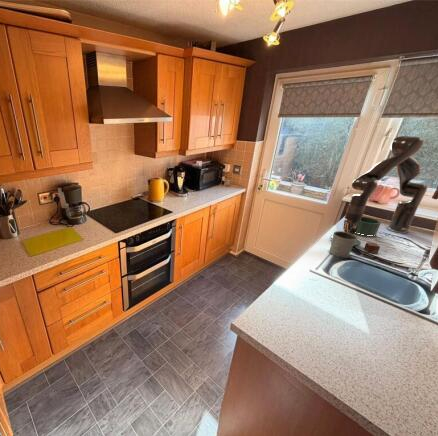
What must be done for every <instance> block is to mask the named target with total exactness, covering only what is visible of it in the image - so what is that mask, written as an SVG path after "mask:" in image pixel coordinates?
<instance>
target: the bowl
mask: <svg viewBox="0 0 438 436" xmlns="http://www.w3.org/2000/svg"><path fill="white" fill-rule="evenodd" d="M345 232H347V230H346V231H345ZM330 239H331V240H332V239H333V234H331V235H330ZM361 243H362V241H361V240H359V239H358V238H357V240H356V242H355V244H354V245H353V247H354V246H360V245H361Z"/></svg>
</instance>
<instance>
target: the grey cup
mask: <svg viewBox="0 0 438 436" xmlns="http://www.w3.org/2000/svg"><path fill="white" fill-rule="evenodd" d="M332 235H333V239H331V244H330V247H329V254H330V255H332V256H334V257H337V258H341V259H347V258H349V256H350V254H351V252H352V249H353V247H354V246H353V245H354V244H355V242H356V240H357V239H358V236H357V235H356V234H350V233H347V232H344V231H341V230H338V231H334V232H333V233H332Z"/></svg>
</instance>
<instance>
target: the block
mask: <svg viewBox="0 0 438 436" xmlns="http://www.w3.org/2000/svg"><path fill="white" fill-rule="evenodd" d="M363 247H364V248H363V250H364V251H365V252H366V253H369V254H375V255H378V254H379V251H380V249H381V246H380V245H379V244H378V243H376V242H371V241H366V243H365V245H364V246H363Z"/></svg>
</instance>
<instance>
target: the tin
mask: <svg viewBox="0 0 438 436" xmlns="http://www.w3.org/2000/svg"><path fill="white" fill-rule="evenodd" d="M356 227H357V228H358V229H357V230H356V233H354V234H353V235H355V236H359V237H365V238H375V237H376V236H377V235H378V232H379V229H380V227H381V220H378V219H375V218H372V217H369V216H368V217H366V216H362V219H361V221H358V222H356ZM357 233H360V234H357ZM361 234H364V235H361ZM367 235H373V236H367ZM374 235H375V236H374Z"/></svg>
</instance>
